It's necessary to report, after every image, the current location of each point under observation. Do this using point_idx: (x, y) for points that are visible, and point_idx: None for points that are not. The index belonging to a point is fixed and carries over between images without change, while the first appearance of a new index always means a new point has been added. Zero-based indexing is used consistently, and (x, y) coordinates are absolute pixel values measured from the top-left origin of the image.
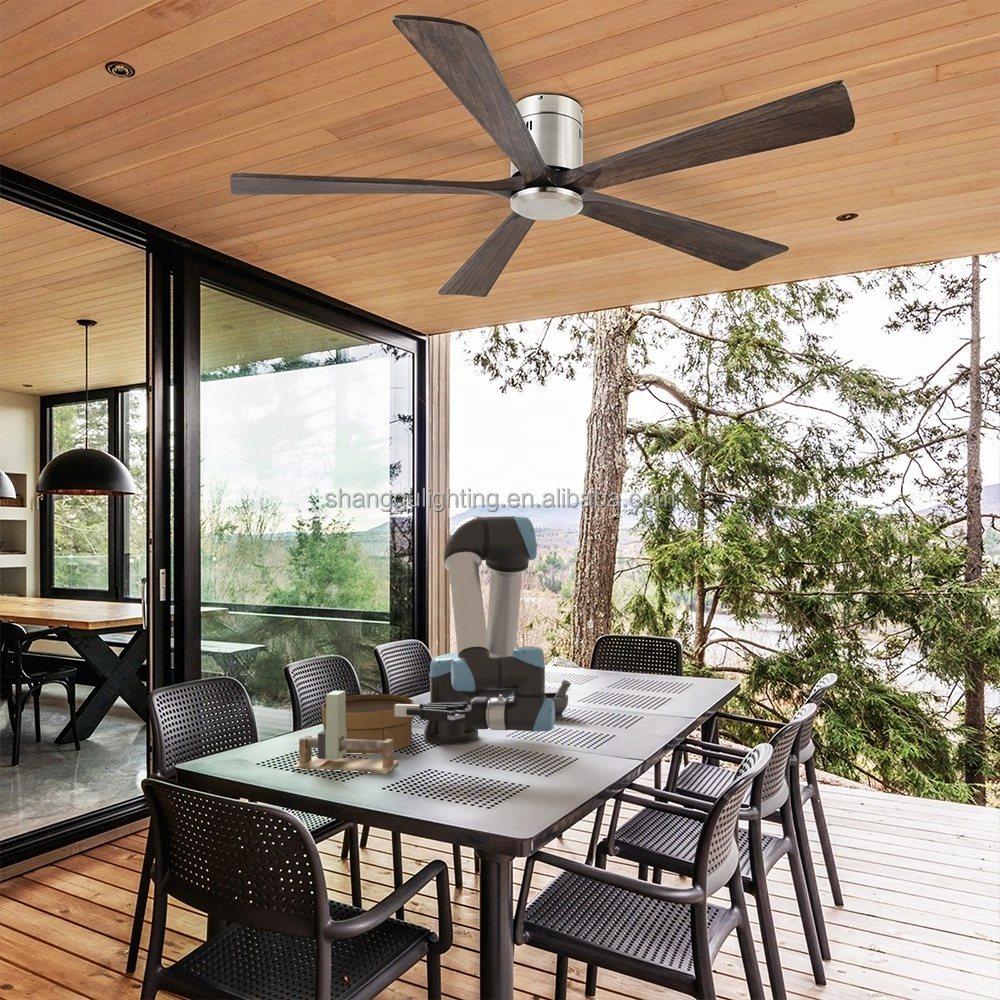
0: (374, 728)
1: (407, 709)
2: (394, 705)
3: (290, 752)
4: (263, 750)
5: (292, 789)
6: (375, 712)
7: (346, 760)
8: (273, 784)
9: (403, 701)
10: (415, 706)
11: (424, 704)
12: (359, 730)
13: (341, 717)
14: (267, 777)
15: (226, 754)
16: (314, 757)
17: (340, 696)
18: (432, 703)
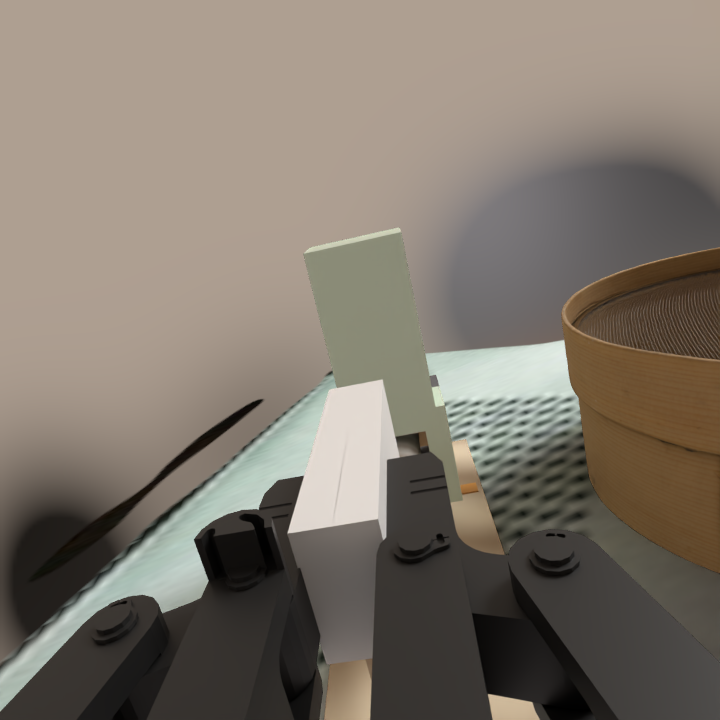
0: (659, 438)
1: (268, 490)
2: (330, 392)
3: (519, 397)
4: (508, 367)
5: (150, 553)
6: (661, 357)
7: (458, 529)
8: (213, 499)
9: None
10: (301, 503)
11: (398, 537)
12: (606, 418)
13: (373, 356)
14: (279, 465)
15: (449, 355)
16: (460, 452)
17: (340, 261)
18: (572, 593)
